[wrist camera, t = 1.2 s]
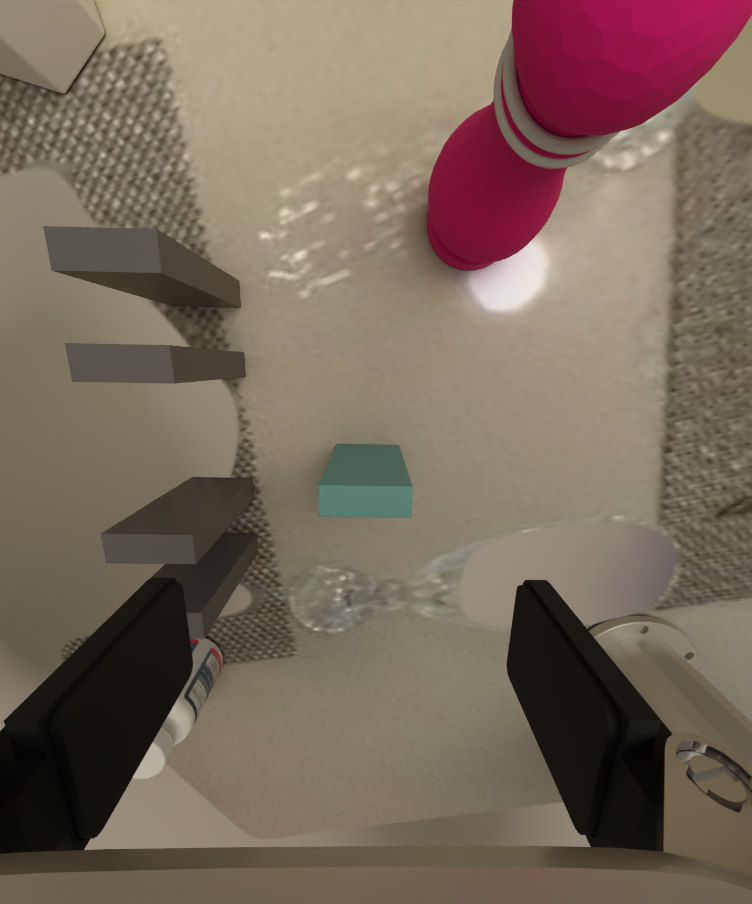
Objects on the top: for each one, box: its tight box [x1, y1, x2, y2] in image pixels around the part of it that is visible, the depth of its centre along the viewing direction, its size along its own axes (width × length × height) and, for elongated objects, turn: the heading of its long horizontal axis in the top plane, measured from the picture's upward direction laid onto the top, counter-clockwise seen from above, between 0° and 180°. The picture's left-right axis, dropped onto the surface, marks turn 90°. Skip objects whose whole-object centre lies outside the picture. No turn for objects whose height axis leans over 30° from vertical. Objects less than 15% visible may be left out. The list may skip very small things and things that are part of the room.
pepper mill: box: [427, 0, 752, 270], centre depth 15 cm, size 7×7×20 cm
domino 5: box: [319, 444, 412, 518], centre depth 24 cm, size 2×5×10 cm, turn 89°
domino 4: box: [151, 533, 258, 639], centre depth 26 cm, size 2×5×10 cm, turn 89°
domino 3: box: [101, 477, 254, 564], centre depth 24 cm, size 2×5×10 cm, turn 89°
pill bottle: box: [133, 638, 223, 779], centre depth 29 cm, size 5×5×9 cm
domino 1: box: [44, 226, 241, 308], centre depth 21 cm, size 2×5×10 cm, turn 89°
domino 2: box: [65, 343, 246, 383], centre depth 22 cm, size 2×5×10 cm, turn 89°
